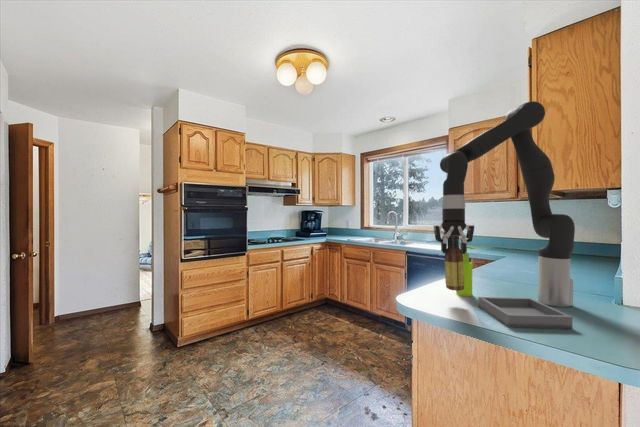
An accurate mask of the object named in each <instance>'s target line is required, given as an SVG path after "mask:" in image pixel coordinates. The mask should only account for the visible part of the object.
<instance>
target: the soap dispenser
mask: <svg viewBox="0 0 640 427" xmlns="http://www.w3.org/2000/svg"><path fill="white" fill-rule="evenodd" d="M459 248H461V246H460V245H459ZM475 248H476V247H475V246H471V245H467V249H470V250H474V249H475ZM475 250H476V249H475ZM462 255H463V267H464V289H463V290H460V291H456V290H455V293H456V295H458V296H463V297H472V296H473V265H474V264H473V262H471V261H470V254H469V253H468V250H467V251H466V252H465V254H462Z"/></svg>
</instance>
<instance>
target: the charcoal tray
mask: <svg viewBox="0 0 640 427" xmlns="http://www.w3.org/2000/svg"><path fill="white" fill-rule="evenodd" d="M477 299H478V300H477V304H478V305H477V307H478V308H479V309H481V311H484V312H485V313H487V314H488V315H489V316H491V317H493V318H494V319H496V320H497V321H499V322H500V323H501V324H503V325H504V326H505V327H507V328H528V329H531V328H532V329H561V330H563V329H565V330H573V316H571V315H569V314H567V313H565V312H562V311H561V310H558V309H555V308H554V307H553V306H552V307H551V306H550V305H547V304H544V303H541V302H539V301H538V300H536V299H533V298H532V297H502V296H501V297H500V296H499V297H498V296H497V297H496V296H478V298H477Z"/></svg>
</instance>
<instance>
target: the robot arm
mask: <svg viewBox="0 0 640 427" xmlns="http://www.w3.org/2000/svg"><path fill="white" fill-rule="evenodd" d="M545 116H546V109H545V107H544V105H543V104H542V103H541V102H538V101H535V100H534V101H527V102H524V103H523V104H520V105H518V106H516V107H514V108H512V109H510V110H509V111H508V112H506V115H505V118H504V121H502V122H500V123H499V124H497V125H495V126H493V127H491V128H489V129H488V130H485V131H484V132H482V133H480V134H478V135H477V136H474V138H472V139H471V140H469V141H467V142H466V143H465V144H464V145H462V146H461V147H459V148H457V149H455V150H453V151H451V152H450V153H448V154H446V155H444V156H443V157H442V158H441V160H440V162H439V167H440V171H442V172H443V173H446V174H447V176H446V179H445V180H444V182H443V184H442V192H443V193H442V201H441V202H442V207H441V208H442V209H441V210H442V212H441V213H442V219H441V220H442V222H441V224H438V225H433V231H434V239H435V241H436V242H439V243H440V245H441V246H440V250H441V252H442V254H444V255H445V254H447V247H448V238H449V237H450V235H459V241H460V242H459V247H460V246H461V247H460V250H461V251H462V254H465V252H466V251H467V252H468V248H467V246H468V245H467V244H468V243H471V242H472V241H473V237H474V232H475V226H474V225H472V224H466V199H465V180H466V176H467V172H468V167H469V163H470V162H472V161H476V160H477V159H479V158H481V157H483V156H484V155H486V154H487V153H489V152H491V150H493V149H495V148H496V147H498V146H499V145H501V144H502V143H504V142H505V141H507V140H509V139H511V141H512V144H513V146H514V150H515V154H516V158H517V160H518V164H519V167H520V171H521V172H520V173H521V175H522V176H521V177H522V180H523V183H524V186H525V190H526V194H527V198H528V202H529V208H530V215H531V216H530V217H531V221H532V226H533V230H534V232H535V233H536V235H538V236H539V237H541V238H543V239H548V243H547V245H546V246H543V247H540V248H539V249H538V255H537V256H538V261H537V262H538V264H537V265H538V267H537V268H538V271H537V272H538V274H537V275H538V276H537V277H538V278H537V301H538V302H541V303H543V304H545V305H547V306H550V307H551V306H552V307H561V308H565V307H573V306H574V280H573V278H571V255H572V252H573V250H574V245H575V244H574V243H575V234H576V233H575V232H576V231H575V230H576V227H575V226H576V225H575V222H574V220H573V218H572V217H571V216H570V215H568V214H564V213H563V214H562V213H553V212H552V208H551V205H550V197H551V193H552V190H553V187H554V184H555V178H556V177H555V172H554V168H553V164H552V161H551V160H550V158H549V157H548V155H547V154H546V153H545V152H544V151H543V150H542V149H541V148H540V147H539V146H538V145H537V144H536V142H535V140H534V137H533V135H532V132H531V128H534V127H537V126H538V125H539V124H541V122H543V120H544V118H545ZM442 230H443V231H444V232H443V233H442V236H441V231H442ZM464 230H465V231H467V232H466V235H465V233H464Z"/></svg>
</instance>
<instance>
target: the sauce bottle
mask: <svg viewBox="0 0 640 427" xmlns="http://www.w3.org/2000/svg"><path fill="white" fill-rule="evenodd" d="M459 241H460V239H459V235H450V237H449V238H448V240H447V254H444V274H445V275H444V276H445V277H444V278H445V280H444V282H445V287H446V289H447V290H451V291H455V292H456V291H460V290H463V289H464V267H463V255H462V251H461V247H460V242H459Z"/></svg>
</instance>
